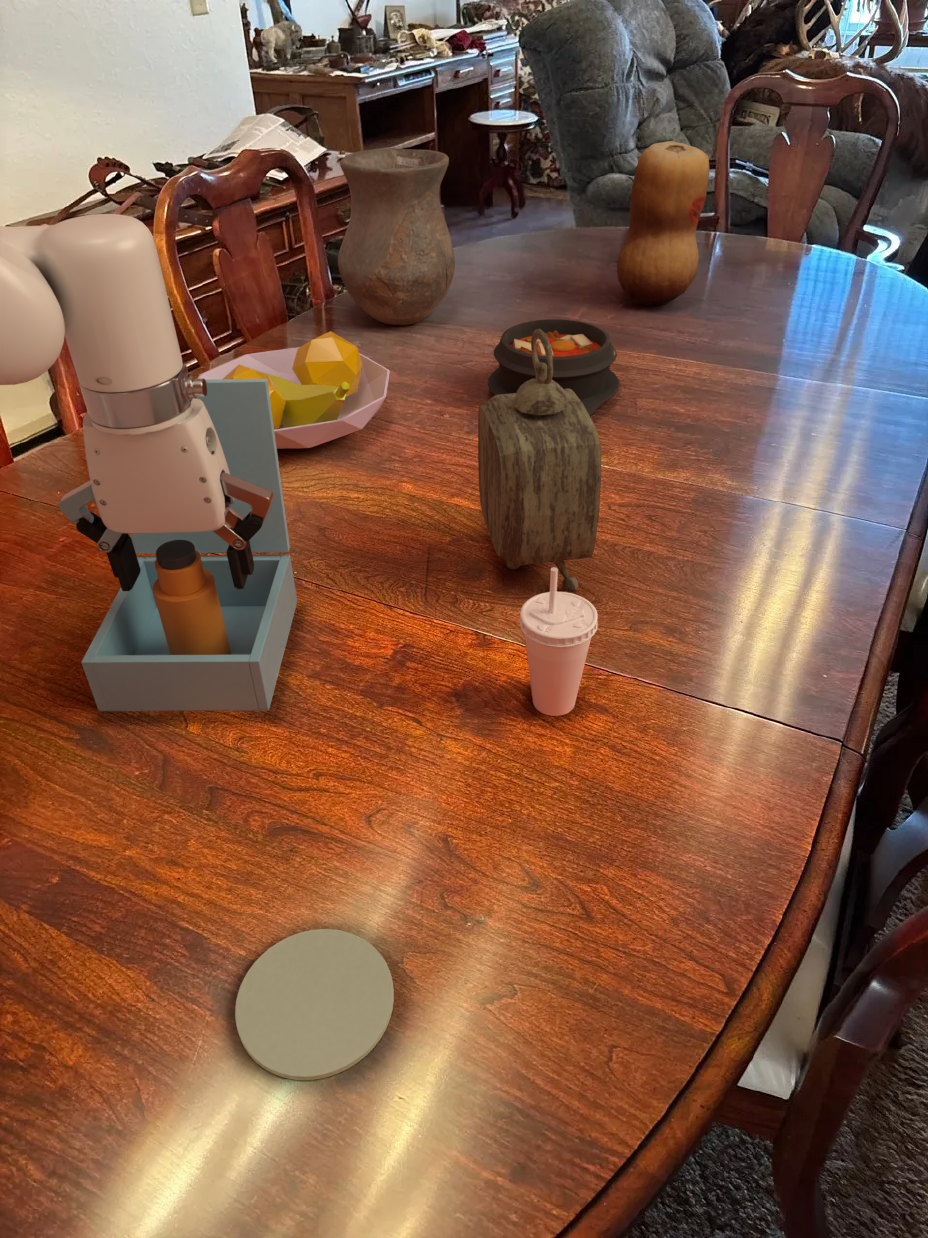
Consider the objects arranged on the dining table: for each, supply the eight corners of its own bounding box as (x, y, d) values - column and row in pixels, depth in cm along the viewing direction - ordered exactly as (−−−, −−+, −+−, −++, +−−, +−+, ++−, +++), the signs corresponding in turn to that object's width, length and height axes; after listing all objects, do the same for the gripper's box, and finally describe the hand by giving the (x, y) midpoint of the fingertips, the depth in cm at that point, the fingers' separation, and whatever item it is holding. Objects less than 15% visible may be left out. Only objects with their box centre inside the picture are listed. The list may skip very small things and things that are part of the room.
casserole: (616, 438, 120) (622, 376, 115) (475, 430, 123) (475, 370, 117) (620, 363, 140) (625, 308, 135) (499, 358, 142) (499, 303, 137)
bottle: (166, 677, 83) (135, 567, 75) (181, 641, 87) (152, 533, 79) (224, 677, 83) (198, 566, 75) (236, 640, 87) (212, 532, 79)
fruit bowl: (186, 402, 131) (169, 324, 124) (371, 375, 138) (364, 299, 131) (205, 495, 110) (186, 407, 103) (422, 458, 117) (418, 373, 110)
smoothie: (516, 676, 83) (519, 546, 75) (588, 677, 83) (599, 547, 74) (517, 726, 78) (521, 593, 70) (593, 727, 78) (606, 593, 69)
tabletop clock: (591, 601, 92) (611, 360, 77) (503, 611, 91) (505, 369, 76) (556, 525, 103) (567, 302, 88) (477, 534, 102) (474, 310, 87)
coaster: (220, 1080, 55) (218, 1076, 55) (253, 932, 63) (251, 928, 62) (387, 1081, 55) (387, 1077, 54) (399, 932, 63) (398, 928, 62)
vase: (343, 302, 164) (328, 147, 148) (450, 296, 165) (446, 142, 150) (344, 343, 148) (327, 174, 133) (462, 336, 150) (458, 168, 134)
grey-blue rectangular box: (270, 717, 80) (259, 661, 76) (100, 718, 80) (80, 662, 76) (298, 607, 92) (290, 554, 88) (152, 608, 92) (136, 555, 88)
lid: (265, 381, 79) (275, 364, 82) (93, 383, 79) (111, 366, 83) (288, 552, 88) (296, 530, 91) (134, 553, 88) (149, 531, 92)
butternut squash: (674, 321, 153) (694, 156, 138) (601, 307, 159) (613, 148, 144) (705, 297, 162) (727, 140, 147) (635, 285, 168) (649, 132, 153)
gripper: (261, 372, 72) (293, 554, 82) (42, 377, 72) (102, 558, 83) (242, 414, 66) (279, 605, 76) (3, 420, 66) (73, 609, 77)
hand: (187, 580), depth 79 cm, fingers open, 9 cm apart
